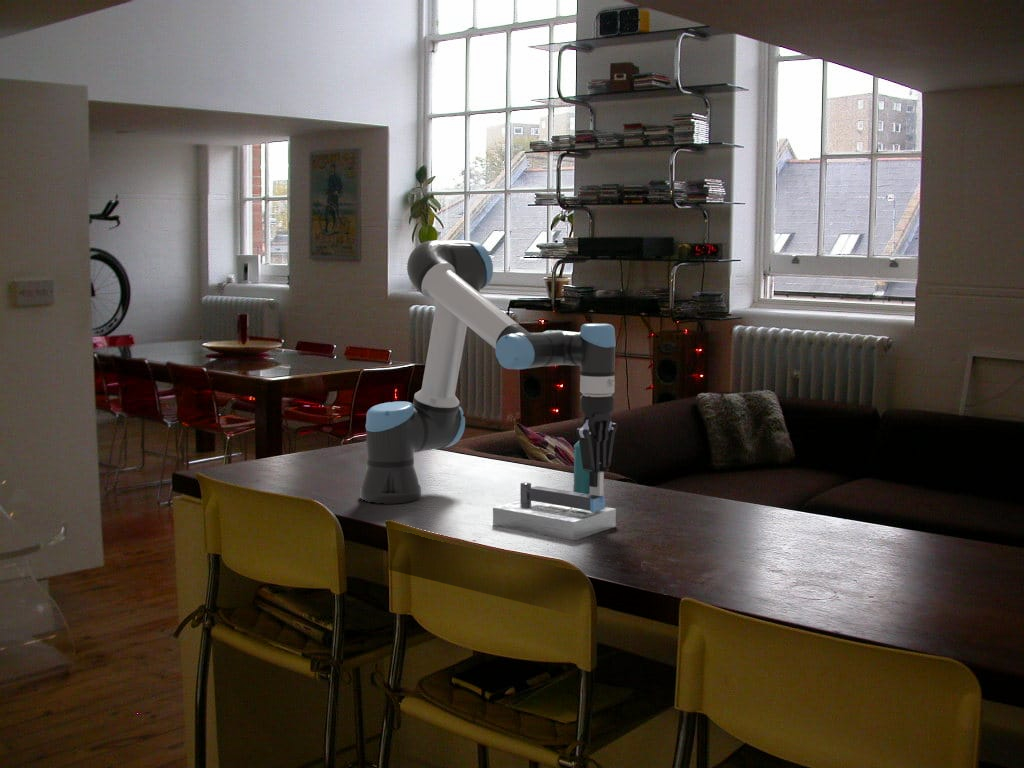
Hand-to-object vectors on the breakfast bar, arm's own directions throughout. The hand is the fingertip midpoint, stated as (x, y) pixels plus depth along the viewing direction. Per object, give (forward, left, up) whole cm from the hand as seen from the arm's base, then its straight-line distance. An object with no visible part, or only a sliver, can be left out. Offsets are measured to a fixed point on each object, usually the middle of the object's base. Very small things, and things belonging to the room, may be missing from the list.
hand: (596, 500), depth 243 cm
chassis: (-8, -5, -6) cm, 11 cm away
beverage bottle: (-11, +12, -6) cm, 17 cm away
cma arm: (-4, -5, -1) cm, 7 cm away
